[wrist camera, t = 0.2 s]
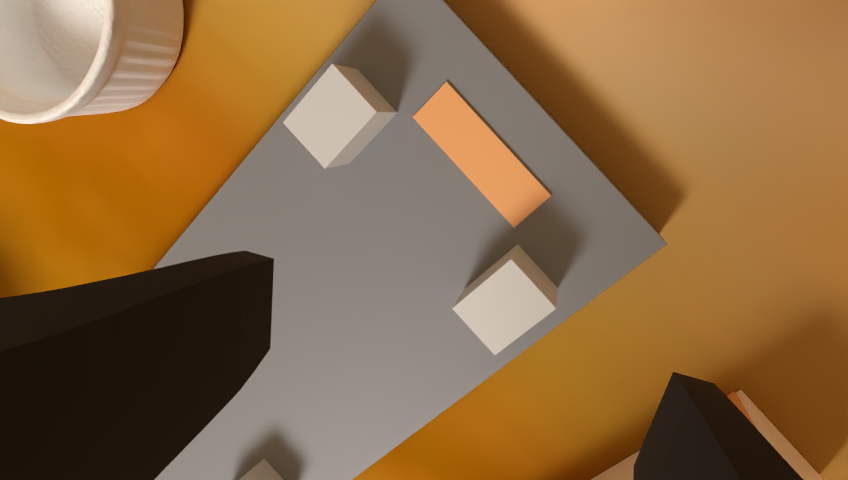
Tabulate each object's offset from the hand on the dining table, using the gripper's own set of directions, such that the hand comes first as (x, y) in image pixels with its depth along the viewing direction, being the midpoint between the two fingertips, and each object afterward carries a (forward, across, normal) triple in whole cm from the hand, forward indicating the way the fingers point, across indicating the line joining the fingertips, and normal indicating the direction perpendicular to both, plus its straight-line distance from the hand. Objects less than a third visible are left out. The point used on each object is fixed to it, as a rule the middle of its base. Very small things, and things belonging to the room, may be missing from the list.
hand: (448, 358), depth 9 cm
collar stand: (+10, +7, +7) cm, 14 cm away
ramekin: (+12, +18, -3) cm, 22 cm away
